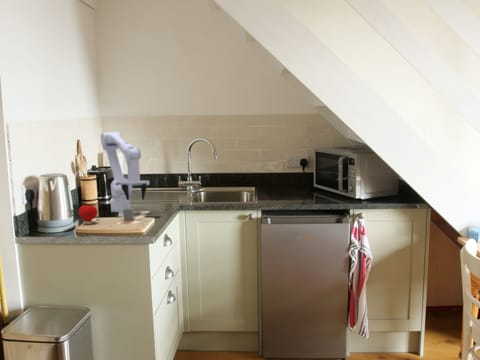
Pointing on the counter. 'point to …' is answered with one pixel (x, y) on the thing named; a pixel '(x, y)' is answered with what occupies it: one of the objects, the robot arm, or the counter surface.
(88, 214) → the red heart ornament
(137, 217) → the socket board
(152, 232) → the counter surface
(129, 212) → the plug
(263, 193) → the counter surface
